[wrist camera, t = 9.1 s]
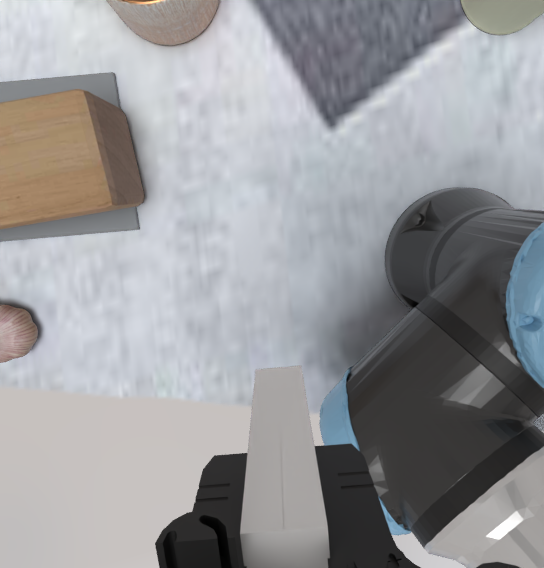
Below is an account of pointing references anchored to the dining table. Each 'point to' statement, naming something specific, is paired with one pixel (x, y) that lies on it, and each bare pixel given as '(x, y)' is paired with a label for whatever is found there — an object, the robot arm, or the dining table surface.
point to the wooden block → (64, 159)
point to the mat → (85, 224)
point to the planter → (166, 18)
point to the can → (502, 14)
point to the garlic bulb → (16, 333)
